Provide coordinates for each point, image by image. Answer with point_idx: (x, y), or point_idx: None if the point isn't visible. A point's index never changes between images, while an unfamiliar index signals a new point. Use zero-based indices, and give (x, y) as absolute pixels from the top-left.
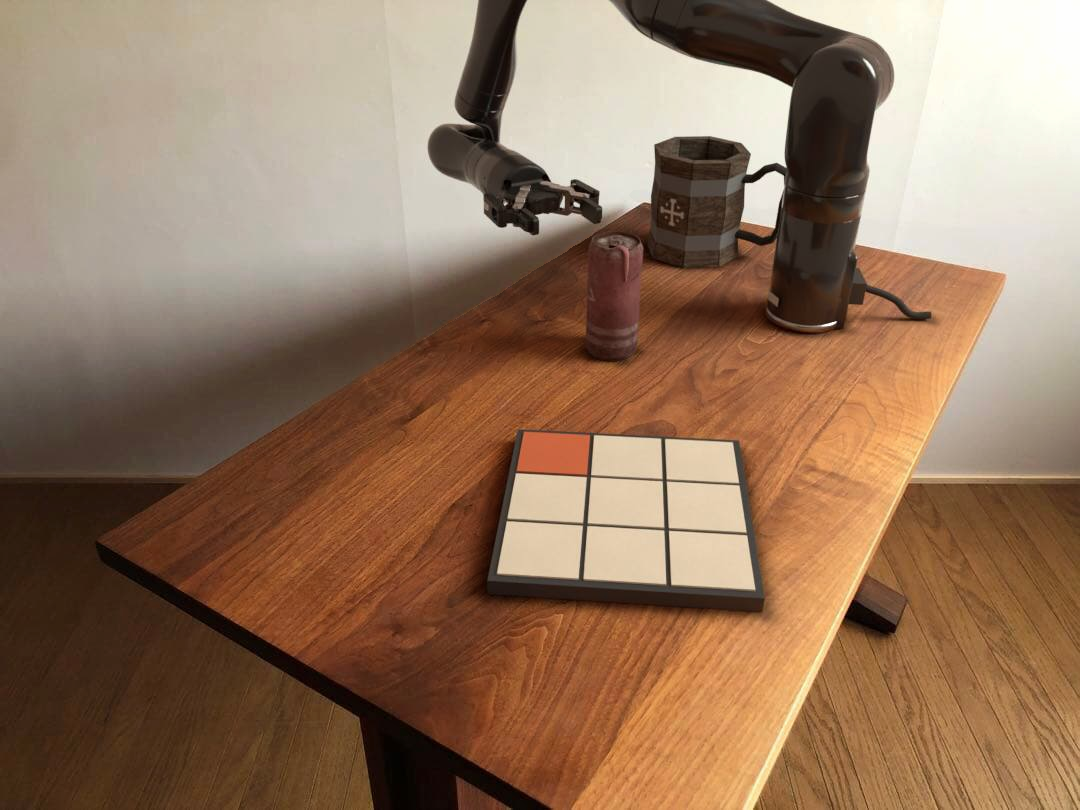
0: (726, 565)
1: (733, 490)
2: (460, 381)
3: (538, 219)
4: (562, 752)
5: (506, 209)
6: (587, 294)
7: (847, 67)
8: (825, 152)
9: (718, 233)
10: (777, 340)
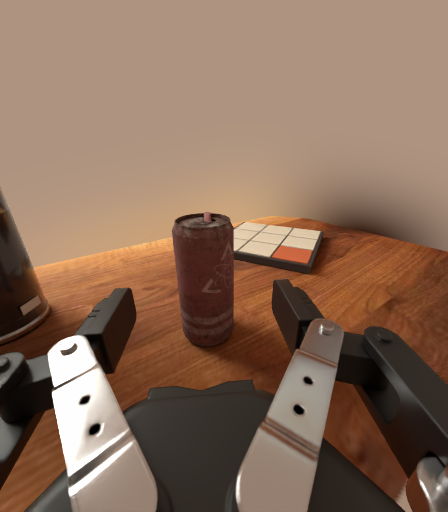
0: (248, 225)
1: None
2: (361, 327)
3: (274, 280)
4: (303, 220)
5: (363, 335)
6: (232, 281)
7: None
8: None
9: None
10: (75, 305)
